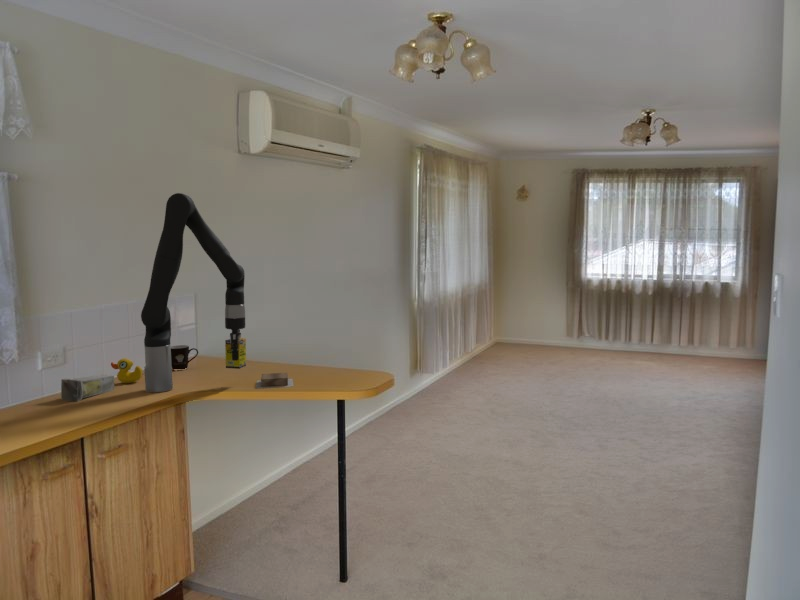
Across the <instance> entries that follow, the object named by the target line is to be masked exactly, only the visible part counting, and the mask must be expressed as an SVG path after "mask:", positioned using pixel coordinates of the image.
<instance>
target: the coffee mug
mask: <svg viewBox="0 0 800 600" xmlns="http://www.w3.org/2000/svg"><path fill="white" fill-rule="evenodd" d="M193 350H194V351H196V354H195V356H194V357H192V358H190V359H189V356H190V353H191V351H193ZM198 355H199V351H198V349H197V348H195V347H194V348H193V347H192V348H190V345H188V344H187V345H186V344H180V345H179V344H178V345H171V364H172V369H185V368H187V367H188V366H189V363H190V362H191V361H193V360H194V359H195V358H196V357H197V356H198ZM188 368H189V367H188Z"/></svg>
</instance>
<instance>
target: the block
mask: <svg viewBox="0 0 800 600" xmlns="http://www.w3.org/2000/svg"><path fill="white" fill-rule="evenodd" d="M60 381H61V384H60V385H61V391H60V392H61V400H60V401H68V402H81V401H82V399H85V398H88V397H93V396H97V395H101V394H105V393H108V392H112V391H114V390H115V375H112V374H111V375H108V374H98V375H92V376H85V377H84V376H83V377H77V378H62V379H61V380H60Z"/></svg>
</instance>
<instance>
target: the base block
mask: <svg viewBox="0 0 800 600" xmlns="http://www.w3.org/2000/svg"><path fill="white" fill-rule="evenodd" d="M260 376H261V377H260V380H261V387H271V386H288V379H289V377H288V372H276V373H275V372H273V373H261V375H260Z"/></svg>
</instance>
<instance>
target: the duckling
mask: <svg viewBox="0 0 800 600" xmlns="http://www.w3.org/2000/svg"><path fill="white" fill-rule="evenodd" d="M133 365H134V362H133V360H131V359H129V358H121V359H119V360H118V361H117V363H114V362H110V366H111V368H113V370H119V371H118V372H117V374H116V377H117V380H118V381H119V382H121V383H122V384H131V383H136V382H138V381H139V380H141V378H142V376H143V368H142V367H141V366H139V365H136V366H135V368H134V370H133V371H130V370H131V368H132V367H133Z"/></svg>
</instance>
